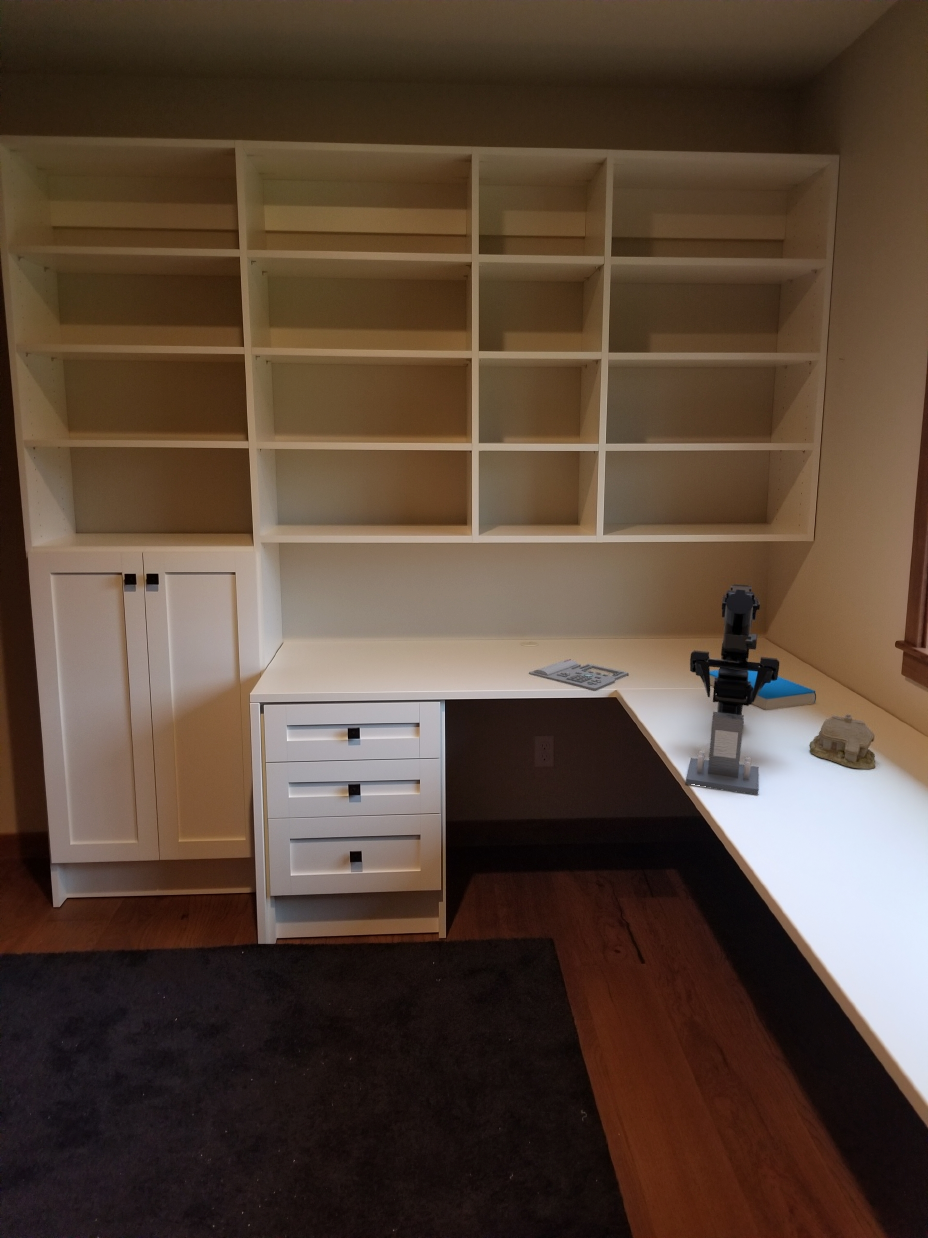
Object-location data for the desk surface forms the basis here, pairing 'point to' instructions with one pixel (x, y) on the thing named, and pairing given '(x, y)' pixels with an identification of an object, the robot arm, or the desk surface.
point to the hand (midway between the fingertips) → (730, 699)
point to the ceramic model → (845, 742)
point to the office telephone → (579, 674)
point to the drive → (725, 744)
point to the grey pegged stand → (743, 783)
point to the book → (777, 692)
